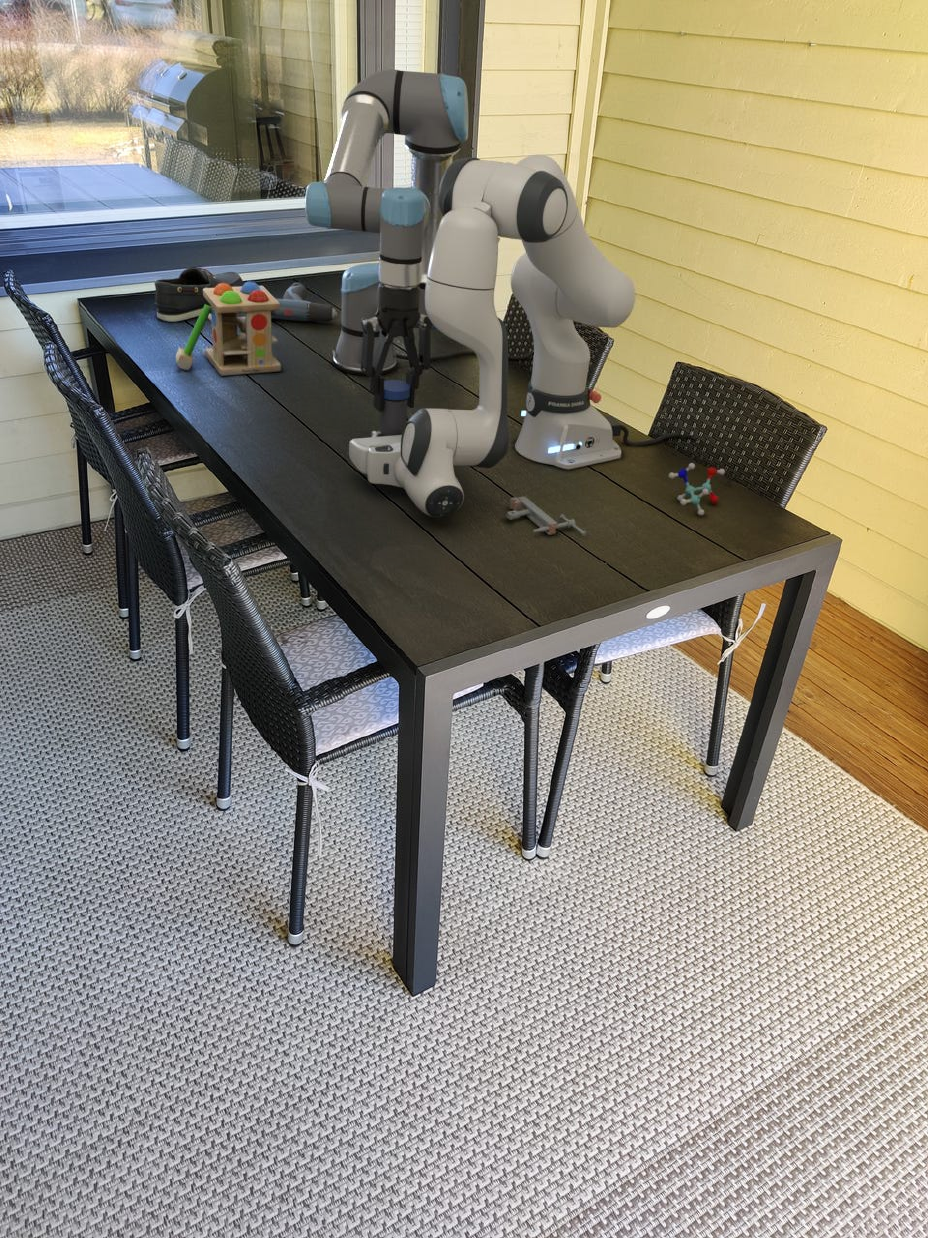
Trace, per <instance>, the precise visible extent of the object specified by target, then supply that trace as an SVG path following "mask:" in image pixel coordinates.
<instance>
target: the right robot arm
mask: <svg viewBox="0 0 928 1238" xmlns="http://www.w3.org/2000/svg"><path fill="white" fill-rule="evenodd" d="M439 204H440V209H441V213H442V216H443V218H442V220H441V222H440V224H439V227H438V230H437V233H436V237H435V240H434V244H433V248H432V252H431V256H430V262H429V267H428V273H427V281H426V288H425V309H426V312H427V315H428V317H429V319H430V321H431V322H432V324H433V325H434V326H435V327H436V328H437V329H438V330H437V331H439V332H440V333H442V334H443V335H445V336H446V337H448V338H449V339H451V340H453V341H455V342H457V343H459V344H460V345H463V346H465V347H467V348H468V349H470V350H471V351H474V352H475V354H476V355H475V356H476V358H477V360H478V364H479V365H478V367H479V368H478V369H479V371H478V372H479V373H478V375H479V377H478V379H479V380H478V386H479V387H478V388H479V389H478V391H479V393H478V398H479V399H478V405H477V407H476V408H474V409H472V410H471V409H449V408H423V407H421V408H420V409H418V410H417V411H415V412H414V413H413V414H412V415H411V416H410V418H409V419H408V420H407V422H406V425H405V427H404V429H403V433H402V435H394V436H382V433H381V432H380V430H372V431H371V436H370V437H360V438H358V437H357V438H352V439H350V440H349V444H348V456H349V457H348V458H349V459H350V461H351V463H352V464H353V465H354V466H355V467H356V469H357V470H358V471H359V472H361V474H364V475H366V476H367V481H368V482H369V483H370V484H373V485H375V484H376V485H386V486H387V485H389V486H394V487H397V488H401V489H403V490H405V492H406V494H407V496H408V497H409V499H410V501H411V502H412V503H413V504H414V505H415V506H416V508H417V509H419V510H420V511H421V513H423V514H425V515H427V516H429V517H431V518H445V517H448V516H450V515H451V516H452V514H454V513H456V512H457V511H459V509H460V508H461V507H462V505H463V502H464V500H465V494H464V490H463V487H462V485H461V483H460V481H459V480H458V478H457V476H456V475H455V468H454V467H456V466H457V467H460V466H463V467H471V468H481V469H492V468H494V467H495V466H497V464H498V463H500V462H501V461H502V460H503V459H504V458H505V456H506V455H507V453H508V452H509V448H510V441H511V440H510V438H511V437H510V436H511V435H510V427H509V419H508V417H509V415H508V392H509V391H508V384H509V359H508V355H509V343H508V332H507V328H506V324H505V322H504V321H503V320H502V319H501V318H500V317H498V315H497V311H496V307H495V288H496V281H497V272H498V260H499V242H500V241H501V238H504V239H505V238H506V239H510V240H521V243H522V245H523V248H524V251H525V252H524V253H523V254H521V256H520V257H519V258H518V259H517V260H516V262H515V263H514V265H513V267H512V270H511V274H510V288H511V292H512V295H513V297H514V298H515V299H516V301H518V303H519V305H520V306H521V307H522V309H523V311H524V313H525V315H526V317H527V320H528V322H529V326H530V331H531V333H532V339H533V351H534V355H533V360H532V370H531V372H532V373H531V379H530V380H529V382H528V386H527V392H526V398H525V399H526V400H525V410H521V415H520V416H521V417H524V418H523V422H522V426H521V429H520V432H519V433H518V434H519V435H518V438H517V440H516V442H515V444H514V448H515V450H516V452H517V453H518V454H519V455H521V456H522V457H524V458H526V459H528V460H531V461H533V462H536V463H540V464H545V465H551V466H554V467H557V468H560V469H563V470H573V469H577V468H582V467H587V466H591V465H597V464H599V463H600V464H601V463H605V462H609V461H613V460H619V459H621V458H622V449H621V447H620V446H619V444H618V443H617V442H616V441H615V440H614V438H613V437H620V436H621V433H622V432H623V436H622V442H623V443H624V444H625V445H626V446H629V447H644V446H645V447H646V446H649V445H655V444H658V443H661V442H662V441H664V440H666V439H672V438H673V439H674V438H679V437H683V436H682V435H680V434H679V433H678V432H679V431H678V432H672V433H671V432H670V433H665V434H662V435H660V436H659V437H656V438H654V439H647V440H643V441H637V442H634V441H630V440H628V438H629V434H630V433H629V429H628V427H626V426H625V425H623V424H621V422H619V420H617V419H616V418H615V417H614V416H612V415H605V416H604V415H603V414H602V413H601V412H600V411H599V410H598V409H597V408H596V407H594V406H593V405H592V403H594V404H599V403H600V402H601V401H602V395H601V394H600V393H599V392H597V390H592V389H591V387H589V386H587V381H588V380H587V379H588V373H589V368H590V367H589V366H590V361H591V352H590V348H589V346H588V344H587V342H586V341H585V340H584V338H583V337H581V336H580V334H579V332H578V331H577V329H576V327H575V324H574V322H576V323H580V324H583V325H585V326H586V325H587V326H590V327H595V328H611V329H615V328H618V327H619V326H621V325H622V324H624V322H626V321H627V319H628V318H629V317H630V316H631V314H632V313H633V310H634V308H635V304H636V295H637V294H636V288H635V285H634V282H633V280H632V278H631V277H629V276H628V275H626V274H625V273H624V272H622V271H621V270H620V269H618V268H617V267H616V266H615V265H614V264H613V263H612V262H611V261H609V259H608V258H607V257H606V256H605V255H604V254H603V252H602V251H601V250H600V249H599V247H598V246H597V245H596V244H595V243H594V241H593V240H592V238H591V237H590V235H589V234H588V232H587V229H586V227H585V224H584V220H583V219H582V216H581V212H580V209H579V206H578V202H577V200H576V197H575V194H574V191H573V189H572V187H571V185H570V183H569V180H568V178H567V177H566V175H565V173H564V170H562V168H561V167H560V164H559V163H558V162H557V161H556V160H555V159H554V158H552V157H550V156H548V155H546V154H532V155H528V156H526V157H524V158H522V159H521V160H519V161H518V162H517V163H513V162H510V161H509V162H504V161H497V160H486V159H485V160H484V159H480V158H478V157H462V158H457V159H455V160H452V163H451V165H450V166H449V167H448V168H447V170H446V171H445V172H444V174H443V176H442V179H441V182H440V186H439ZM500 237H501V238H500ZM591 401H592V403H591ZM687 438H690V439H691V440H692V441H695V442H698V441H699V439H698V440H697V439H694V438H692V437H690V436H687Z"/></svg>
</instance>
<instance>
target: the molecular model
mask: <svg viewBox="0 0 928 1238" xmlns="http://www.w3.org/2000/svg"><path fill="white" fill-rule="evenodd" d="M695 468H696V464H695V463H693V462H690V463H689V464H688V465H687V468H685V469H684V468H682V469H680V470H679V471H678V472H669V473H668V478H669V479H671V480H674V479H675V478H676V477H679V478H680V479H683V481H684V484H685V486H686V488H685V492H683V493H682V494H679V495H678V496H677V501H678V502H679V504H680V505H681V506H686V505H687V504H690V503H691V504H692V505H695V506H696V509H697V515H698V516H701V517H702V516H704V514H705V510H704V509H702V507H701V505H700V503H701V498H703V497H704V496H708V498H709V501H710V503H711V504H713V505H715V504H717V503H718V502H719V500H720V499H719V497H718V495H715V494H714V492H713V491H712V485H711V484H710V483H711V480H712V476H715V474H718V475H720V476H723V475H725V473H726V471H725V469H724V468H720V469H716V468H714V467H709V468H708V469H707V473H706V474H707V475H708V476H707V479H706V481H705V482H704V483H702V485H701V486H698V487H695V486H694V485H690V483H689V480H688V478H687V476H688V472H689V471H690V470H694V469H695ZM698 491H701V493H700V494H698V495H697V494H695V493H696V492H698ZM687 496H691V497H690V498H689V499H686V498H685V497H687Z"/></svg>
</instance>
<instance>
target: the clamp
mask: <svg viewBox="0 0 928 1238" xmlns="http://www.w3.org/2000/svg"><path fill="white" fill-rule="evenodd" d="M509 509H510V511H507V512H506V518H507V519H508V520H510V521H513V520H517V519H519V518H521V517H524V516H525V517H527V518H528V519H529V520H530V521H531V522H532V523H534V524H535V525H536V526H537V527H539V528H536V529H533V530H532V533H533V534H536V533H542V532H545V533H546V534H547V535H548V536H549V535H550V536H551V535H556V533H557V529H562V528H565V527H566V528H573V529H575V530H576V531H577V532H579V533H580V534H581V536H582V537H586V535H587V531H586V530H583V529H581V528H580V527H579V526H577V524H576V520H575V519H573V518H572V519H569V518H567V517H566V516H565V514H563V513H562V514H561V515H560V516H559V519H560V520H563V521H564V522H560V523H558V522H557V521H556V520H555V519H553V518H552V517H551V516H550V515H549V514H548V513H546V512H545V511H543V509H541V508H540V507H538V506H537V505H536V504H535V503H534V502H532V501H531V500H530V499H529V498H527V496H520V497H519V496H518V497H517V496H516V497H515V496H514V497H511V498H510V503H509Z"/></svg>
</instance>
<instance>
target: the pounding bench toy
mask: <svg viewBox="0 0 928 1238" xmlns="http://www.w3.org/2000/svg"><path fill="white" fill-rule="evenodd" d="M203 296H204V297H205V299H206V300H207V301H208V302H209V304H210V305H211V307H210V306H208V305H204V307H203V309H202V311H201V314H200V316H198V318H197V320H196V322H195V324H194V327H193V329H192V331H191V332H190V333H191V334H190V336H189V338H188V340H187V343H186V344H185V347H184V348H182V347H180V346H179V347H178V349H177V351H176V354H175V357H174V358H175V362H176V365H177V366H178V368H179V369H182V370H185V371H189V370H190V369H191V367H192V365H193V363H194V356H193V351H194V348H195V347H196V345H197V342H198V340H199V337H200V336H201V333H202V332H203V329H204V326H205V325H206V322H207V320H209V321H210V322H211V336H212V337H211V338H212V339H211V340H212V348H205V349H204V352H205V353H204V355H205V357H206V359H208V361H209V363H210V364H211V365H212V366H213V367H214V369H215V370H216V371H217V372H218V374H219V375H220V376H222V377H223V376H234V375H235V376H236V375H246V374H247V375H250V374H262V373H275V372H281V370H282V364H281V363H280V362H279V360H278V359H277V358H276V357H275V356H274V355H273V348H272V347H273V345H272V344H276V343H278V342H279V341H278V339H277V338H276V337H275V336H274V334H272V318H271V310H280V303H279V302H278V301H277V300H276V299H277V298H276V297H274V296H273V295H272V294H271V293H270V292H269V290H268V289H267V288H266V287H264V285H259V284H257V283H256V282H255V281H247V282H245V283H243V286H242V287H231V286H230V285H228V284H226V283H221V284H218V285H217V286H216V287H215V288H204V289H203ZM238 313H244V314H245V315H244V316H238ZM238 329H239V331H240V333H239V334H238Z"/></svg>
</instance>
